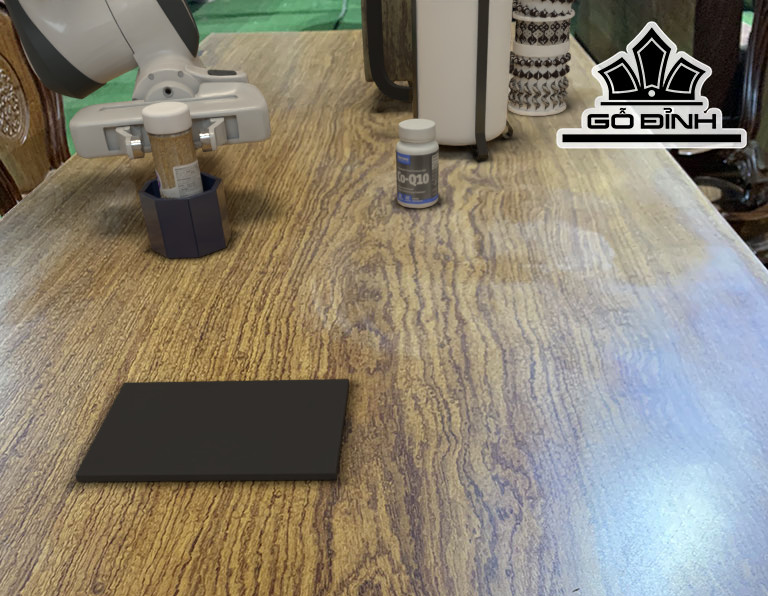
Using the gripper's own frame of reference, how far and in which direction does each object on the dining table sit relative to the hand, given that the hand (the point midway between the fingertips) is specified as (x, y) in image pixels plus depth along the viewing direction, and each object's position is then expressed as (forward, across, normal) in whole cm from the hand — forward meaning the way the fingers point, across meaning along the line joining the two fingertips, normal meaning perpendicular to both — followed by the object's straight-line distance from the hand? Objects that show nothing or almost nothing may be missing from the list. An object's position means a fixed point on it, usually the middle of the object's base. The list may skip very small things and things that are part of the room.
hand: (171, 146), depth 81 cm
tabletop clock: (-47, +32, +10) cm, 58 cm away
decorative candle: (-37, +50, +10) cm, 63 cm away
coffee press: (-24, +34, +10) cm, 43 cm away
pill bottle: (-5, +26, +10) cm, 28 cm away
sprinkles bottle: (-1, 0, +10) cm, 10 cm away
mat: (+35, +2, +10) cm, 37 cm away
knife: (-64, +54, +10) cm, 85 cm away
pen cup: (-1, 0, +10) cm, 10 cm away
